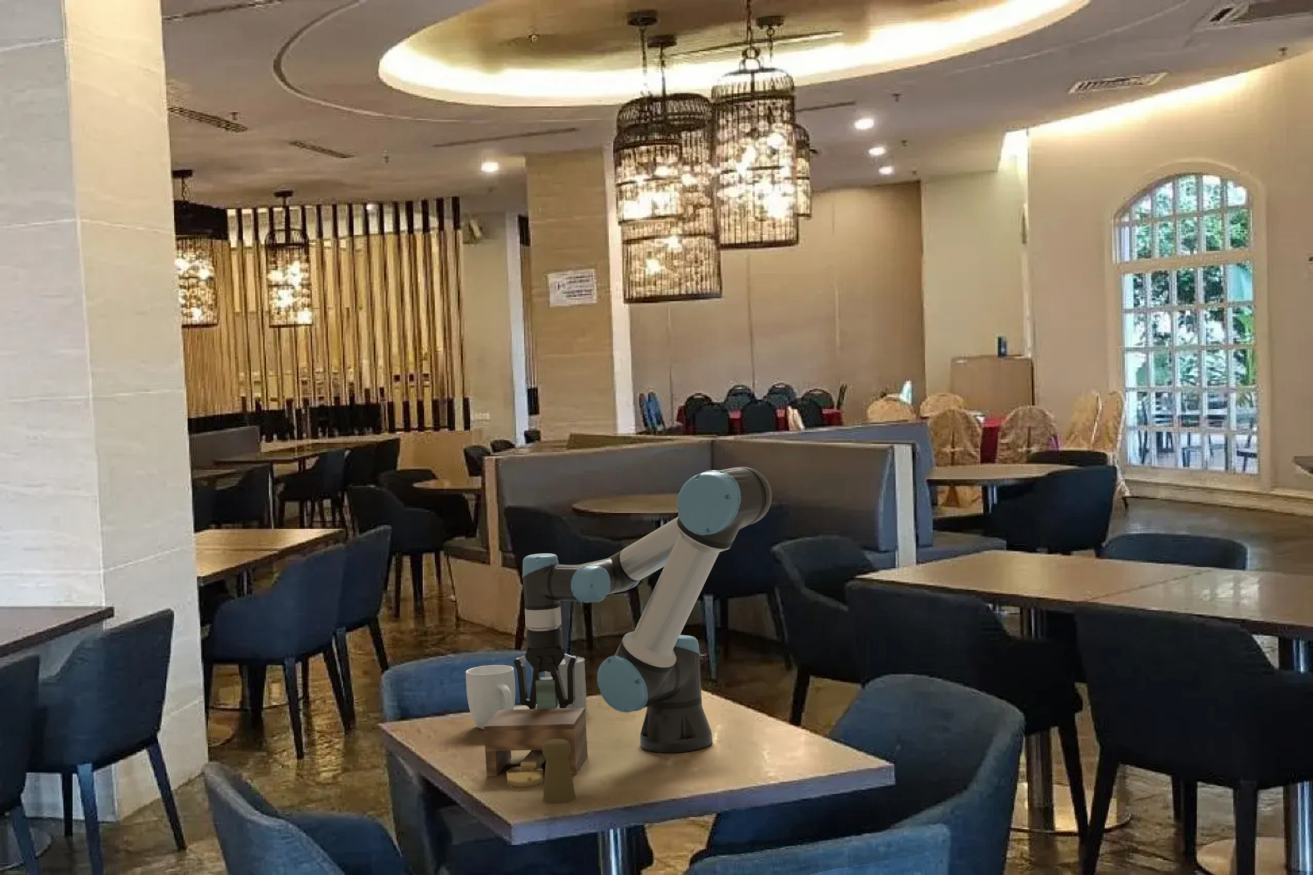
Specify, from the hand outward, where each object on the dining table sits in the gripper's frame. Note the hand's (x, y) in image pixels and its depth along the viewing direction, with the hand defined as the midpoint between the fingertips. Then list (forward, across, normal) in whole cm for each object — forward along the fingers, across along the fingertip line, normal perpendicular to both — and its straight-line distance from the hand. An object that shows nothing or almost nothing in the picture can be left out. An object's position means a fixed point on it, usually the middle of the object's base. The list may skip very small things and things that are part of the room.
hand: (549, 737), depth 306 cm
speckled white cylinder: (+3, +2, -33) cm, 33 cm away
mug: (+3, +17, -20) cm, 26 cm away
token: (+3, 0, +26) cm, 26 cm away
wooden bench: (+2, 0, +14) cm, 14 cm away
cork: (+3, -9, +37) cm, 38 cm away
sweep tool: (+1, 0, +10) cm, 10 cm away
